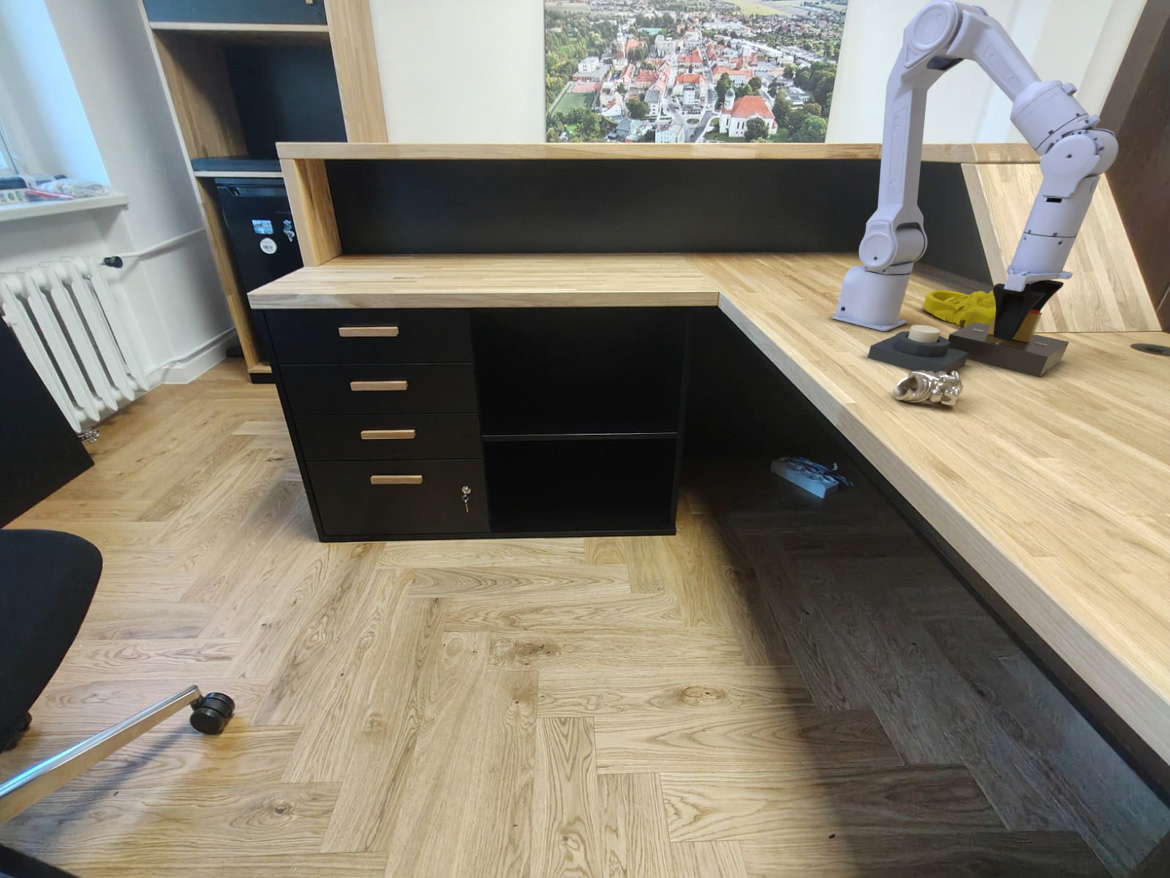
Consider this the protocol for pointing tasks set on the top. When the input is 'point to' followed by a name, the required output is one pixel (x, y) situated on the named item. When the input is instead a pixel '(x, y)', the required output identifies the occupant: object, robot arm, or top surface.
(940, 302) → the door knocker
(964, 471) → the top surface
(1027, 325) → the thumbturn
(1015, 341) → the plate
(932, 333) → the bell button
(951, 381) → the ornament
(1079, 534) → the top surface
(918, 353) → the doorbell
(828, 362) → the top surface
